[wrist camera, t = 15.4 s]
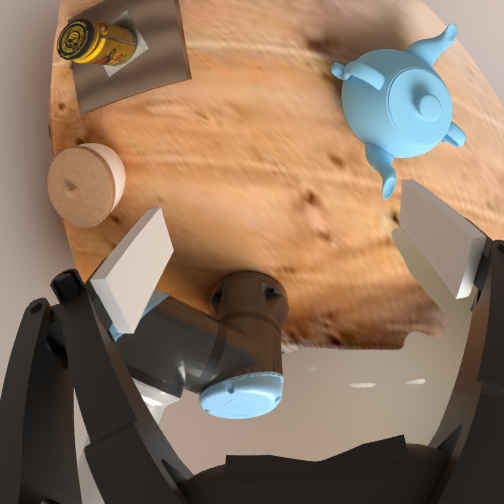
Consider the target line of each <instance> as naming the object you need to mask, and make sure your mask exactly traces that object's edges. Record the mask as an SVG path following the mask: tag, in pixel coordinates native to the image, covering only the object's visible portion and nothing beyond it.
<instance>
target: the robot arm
mask: <svg viewBox="0 0 504 504" xmlns="http://www.w3.org/2000/svg"><path fill="white" fill-rule="evenodd" d="M399 226H400V227H401V229H402V230H403V231H404V232H405V233H406V234H407V235H408V236H409V238H410V239H411V240H412V242H413V243H414V244H415V245H416V246H417V248H419V250H420V251H421V253H422V254H423V255H424V256H425V258H426V259H427V260H428V261H429V263H430V264H431V265H432V267H433V268H434V269H435V271H436V272H437V273H438V274H439V275H440V277H441V279H442V280H443V281H444V282H445V284H446V285H447V287H448V288H449V290H450V291H451V292H452V294H453V295H454V297H455V298H456V299H458V298H462V297H466V296H469V295H470V293H471V289H472V286H473V284H475V286H476V287H477V288H478V291H477V294H476V296H475V299H474V302H473V304H472V307H471V310H470V311H473V314H472V320H471V325H470V330H469V334H468V339H467V343H466V347H465V351H464V355H463V359H462V362H461V366H460V369H459V373H458V376H457V379H456V383H455V385H454V388H453V391H452V394H451V397H450V400H449V403H448V405H447V408H446V411H445V413H444V416H443V418H442V421H441V423H440V426H439V428H438V430H437V432H436V434H435V436H434V437H433V439H432V440H431V442H430V443H429V445H428V446H425V445H420V444H408V443H407V444H406V442H405V438H404V435H399V436H396V437H392V438H388V439H384V440H379V441H375V442H370V443H366V444H362V445H360V446H358V447H355V448H353V449H351V450H348V451H346V452H343V453H341V454H338V455H336V456H333V457H331V458H328V459H326V460H322V461H318V462H313V461H305V460H298V459H291V458H284V457H278V456H273V455H252V456H250V455H248V456H247V455H244V456H241V455H239V456H237V455H226V462H225V464H224V465H220V466H216V467H213V468H209V469H207V470H205V471H202V472H200V473H198V474H196V475H193V474H192V473H191V471H190V470H189V469H188V468H187V467H186V466H185V465H184V464H183V462H182V461H181V460H180V459H179V457H178V456H177V455H176V453H175V451H174V450H173V448H172V447H171V446H170V444H169V442H168V441H167V439H166V437H165V436H164V435H163V433H162V431H161V430H160V428H159V426H158V424H159V421H160V419H161V416H162V413H163V411H164V408H165V407H166V406H167V405H169V404H171V403H174V402H176V401H179V399H180V397H181V395H182V392H183V390H184V389H186V390H189V391H191V392H194V393H197V394H199V395H200V396H199V401H200V405H201V407H202V408H203V409H204V410H205V411H206V412H207V413H209V414H211V415H214V416H217V417H222V418H228V419H244V418H251V417H256V416H260V415H263V414H265V413H267V412H269V411H271V410H272V409H273V408H275V407H276V406H277V405H278V404H279V402H280V400H281V397H282V385H283V381H284V378H283V372H282V353H281V335H280V334H281V331H282V329H283V326H284V324H285V321H286V319H287V316H288V310H289V306H288V297H287V294H286V292H285V290H284V288H283V287H282V286H281V285H280V284H279V283H278V282H277V281H276V280H274V279H273V278H271V277H269V276H267V275H264V274H261V273H257V272H238V273H234V274H231V275H228V276H226V277H224V278H223V279H221V280H220V281H219V282H218V283H217V284H216V285H215V286H214V288H213V290H212V292H211V296H210V300H209V313H210V315H208V314H206V313H204V312H202V311H199V310H197V309H195V308H193V307H191V306H189V305H187V304H185V303H183V302H181V301H179V300H177V299H176V298H174V297H172V296H171V295H170V294H169V293H167V294H166V293H164V292H161V291H159V290H157V289H155V287H156V285H157V283H158V281H159V279H160V277H161V275H162V273H163V271H164V269H165V267H166V265H167V263H168V261H169V259H170V257H171V255H172V253H173V251H174V250H173V246H172V243H171V240H170V237H169V233H168V230H167V227H166V223H165V220H164V217H163V213H162V210H161V207H158V208H153V209H148V210H147V211H146V213H145V214H144V215H143V216H142V217H141V218H140V219H139V220H138V222H137V223H136V224H135V225H134V226H133V227H132V228H131V230H130V231H129V232H128V233H127V234H126V235H125V237H124V238H123V239H122V240H121V241H120V243H119V244H118V245H117V246H116V247H115V249H114V250H113V251H112V252H111V254H110V255H109V256H108V257H107V258H105V259H104V260H103V261H102V262H101V264H100V265H99V266H98V268H97V269H96V270H95V271H94V273H93V274H92V275H91V276H90V278H89V279H88V280H87V282H86V283H85V284H84V283H83V281H82V279H81V277H80V275H79V273H78V271H77V270H76V269H68V270H66V271H63V272H62V273H60V274H58V275H57V276H56V277H55V278H54V279H53V280H52V282H51V284H50V286H51V288H52V290H53V292H54V293H55V295H56V296H57V299H58V300H59V302H60V304H57V305H54V306H50V304H49V302H48V301H47V299H46V298H39V299H37V300H34V301H32V302H31V303H30V304H29V306H28V307H27V308H26V310H25V312H24V315H23V318H22V320H21V323H20V327H19V329H18V332H17V335H16V339H15V342H14V345H13V349H12V352H11V356H10V359H9V363H8V367H7V371H6V375H5V380H4V384H3V389H2V394H1V399H0V504H504V241H503V240H494V241H493V240H492V239H491V238H489V237H488V236H487V235H486V234H485V233H484V232H483V231H482V230H479V228H478V227H477V226H476V225H474V224H473V223H472V222H471V221H470V220H469V219H467V218H465V217H463V216H462V215H461V214H459V213H458V212H457V211H456V210H454V209H453V208H452V207H450V206H449V205H448V204H447V203H445V202H444V201H443V200H441V199H440V198H439V197H437V196H436V195H435V194H433V193H432V192H431V191H429V190H428V189H426V188H425V187H424V186H422V185H421V184H419V183H418V182H416V181H415V180H402V188H401V207H400V220H399ZM74 388H75V393H76V397H77V400H78V404H79V407H80V410H81V414H82V417H83V420H84V423H85V427H86V430H87V433H88V435H87V438H86V441H85V444H84V447H83V450H82V453H81V456H80V459H79V463H78V466H77V459H76V450H75V435H74V409H73V408H74V402H73V401H74V397H73V395H74V393H73V392H74V390H73V389H74Z"/></svg>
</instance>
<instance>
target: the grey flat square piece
mask: <svg viewBox="0 0 504 504" xmlns="http://www.w3.org/2000/svg"><path fill="white" fill-rule="evenodd" d="M126 10H127V12H128V14H129V15H130V17H131V18H132V20H133V22H134V24H135V26H136V27H137V29H138V30H139V32H140V34H141V35H142V37H143V39H144V41H145V42H146V44H147V46H148V48H149V49H147V50H146V51H144V52H143V53H142V54H140V55H139V56H137V57H136V58H135V59H133V60H132V61H131V62H129V63H128V64H127V65H125V66H124V67H122V68H121V69H120V70H118V71H117V72H116V73H114V74H113V75H112V76H111V77H109V75H108V73H107V72H106V70H105V68H104V66H103V65H98V64H82V63H76V62H74V61H73V60H72V67H73V74H74V81H75V87H76V92H77V98H78V103H79V108H80V113H81V114H82V113H87V112H91V111H94V110H96V109H99V108H101V107H104V106H106V105H109V104H111V103H114V102H117V101H119V100H122V99H125V98H128V97H131V96H133V95H136V94H139V93H143V92H146V91H149V90H152V89H155V88H159V87H162V86H166V85H169V84H173V83H177V82H181V81H185V80H189V79H192V78H191V72H190V67H189V61H188V55H187V49H186V43H185V37H184V31H183V25H182V19H181V13H180V6H179V0H105V1H103V2H101V3H99V4H97V5H95V6H93V7H91V8H89V9H88V10H86V11H84V12H82V13H80V14H78V15H77V16H75V17H73V18H71V19H70V20H68V24H69V23H71V22H72V21H75V20H77V19H86V20H87V19H88V20H91V19H98V20H101V21H104V22H107V23H110V22H112V21H113V20H114V19H115V18H117V17H118V16H119V15H121V14H122V13H123V12H125V11H126Z"/></svg>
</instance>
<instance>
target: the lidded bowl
mask: <svg viewBox="0 0 504 504" xmlns="http://www.w3.org/2000/svg"><path fill="white" fill-rule="evenodd" d="M125 183H126V174H125V169H124V165H123V163H122V161H121V159H120V157H119V156H118V155H117V154H116V153H115V152H114V151H113V150H112V149H111V148H109V147H107V146H105V145H102V144H98V143H86V144H80V145H77V146H73V147H70V148H67V149H65V150H63V151H61V152H60V153H59V154H58V155H57V156H56V157H55V158H54V160H53V161H52V163H51V165H50V168H49V171H48V177H47V188H48V193H49V197H50V200H51V203H52V205H53V207H54V208H55V210H56V211H57V213H58V214H59V215H60V216H61V217H62V218H63V219H64V220H65V221H66V222H68V223H70V224H71V225H74V226H76V227H80V228H90V227H94V226H96V225H98V224H100V223H101V222H102V221H103V220H104V219H105V218H106V217H107V216H108V215H109V213H110V212H111V211H112V210H113V209H114V208H115V207H116V205H117V204H118V202H119V201H120V199H121V197H122V195H123V192H124V189H125Z"/></svg>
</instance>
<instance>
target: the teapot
mask: <svg viewBox="0 0 504 504" xmlns="http://www.w3.org/2000/svg"><path fill="white" fill-rule="evenodd" d="M456 35H457V27H456V25H455V24H450V25H449V26H448V27H447V28H446V29H445V31H444V32H443V33H442V34H440V35H439V36H437V37H434V38H429V39H423V40H419V41H416V42H414V43H413V44H411V45H410V46H409V47H408V48H407V49H406V50H405V51H400V50H395V49H378V50H374V51H370V52H368V53H366V54H364V55H362V56H360V57H359V58H358V59H357V60H356V61H351V62H349V63H348V64H347V65H346V66H344V65H342V64H341V63H338V62H336V63H334V64H333V65H332V66H331V73H332V74H333V75H335V76H336V77H337V78H339V79H341V80H344V81H343V85H342V92H341V100H342V108H343V112H344V115H345V118H346V120H347V123H348V125H349V126H350V128H351V130H352V131H353V133H354V134H355V135H356V136H357V137H358V138H359V140H360V141H361V142H363V143H364V144H365V154H366V158H367V161H368V162H369V164H370V165H371V166H372V167H373V168H374V169H375V170H376V171H377V172H378V173H380V175H381V176H382V179H383V187H382V196H383V198H384V199H388V198H389V197H390V196H391V195H392V193H393V191H394V189H395V185H396V173H395V170H394V169H393V168H392V161H393V159H394V157H398V158H408V157H414V156H418V155H421V154H424V153H426V152H428V151H429V150H431V149H432V148H434V147H435V146H436V145H437V144H438V143H439V142H440V141H441V142H448V143H450V144H452V145H454V146H457V147H461V146H463V144H464V143H465V140H466V135H465V133H464V132H463V131H462V129H461V128H460V127H458V126H457V125H456V124H455V123H453V122H452V121H451V120H452V102H451V98H450V95H449V92H448V90H447V87H446V86H445V84H444V82H443V81H442V79H441V78H440V77H439V75H438V74H437V73H436V72H435V71H434V70H433V69H432V67H433V64H434V62H435V61H436V59H437V57H438V56H439V55H440V54H441V53H442V52H444V51H445V50H446V49H447V48H448V47H449V46H450V45H451V44H452V43H453V42H454V40H455V38H456Z"/></svg>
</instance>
